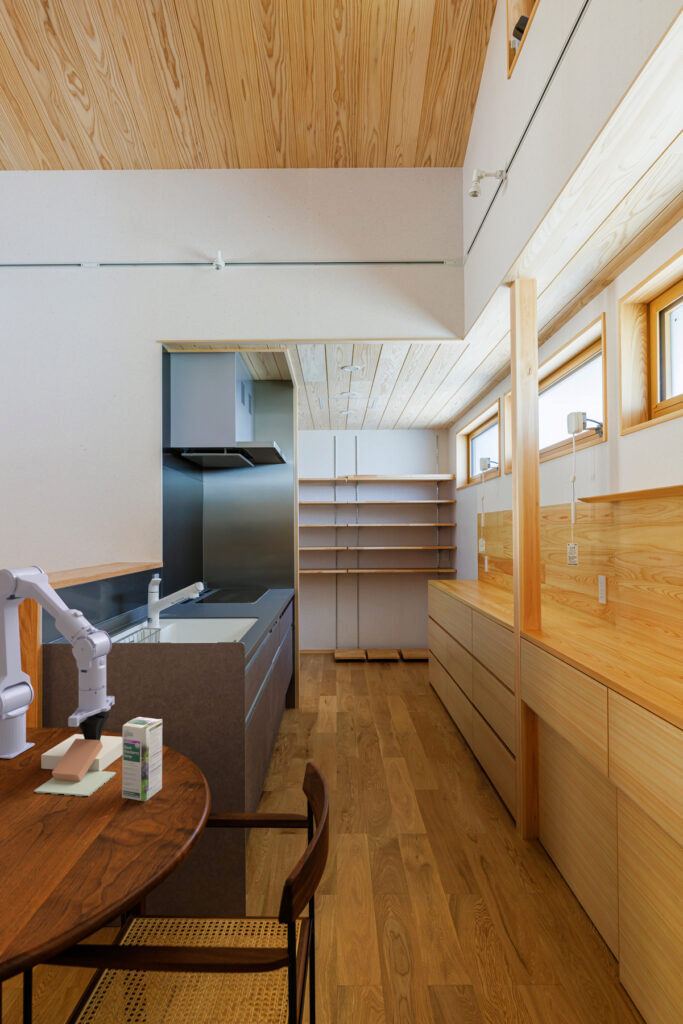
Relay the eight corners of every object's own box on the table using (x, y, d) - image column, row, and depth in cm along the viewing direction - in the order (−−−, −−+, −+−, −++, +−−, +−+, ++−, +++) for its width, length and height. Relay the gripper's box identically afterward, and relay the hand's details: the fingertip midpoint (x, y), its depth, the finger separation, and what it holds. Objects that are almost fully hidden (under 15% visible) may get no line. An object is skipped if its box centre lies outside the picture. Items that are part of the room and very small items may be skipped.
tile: (54, 779, 118) (51, 772, 117) (78, 745, 126) (75, 738, 125) (80, 781, 117) (77, 774, 116) (102, 746, 125) (100, 740, 124)
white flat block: (41, 768, 124) (41, 754, 124) (75, 746, 136) (75, 734, 136) (99, 772, 122) (99, 758, 122) (128, 749, 134) (128, 737, 134)
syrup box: (120, 798, 111) (120, 725, 111) (139, 784, 116) (139, 714, 116) (145, 802, 109) (145, 728, 109) (163, 788, 115) (163, 717, 115)
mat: (33, 792, 113) (33, 790, 113) (65, 770, 123) (65, 768, 123) (88, 797, 111) (88, 795, 111) (116, 774, 121) (116, 772, 121)
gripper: (89, 697, 118) (89, 762, 118) (126, 678, 133) (126, 735, 133) (59, 696, 119) (59, 760, 119) (98, 677, 134) (99, 733, 134)
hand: (92, 747), depth 126 cm, fingers closed
